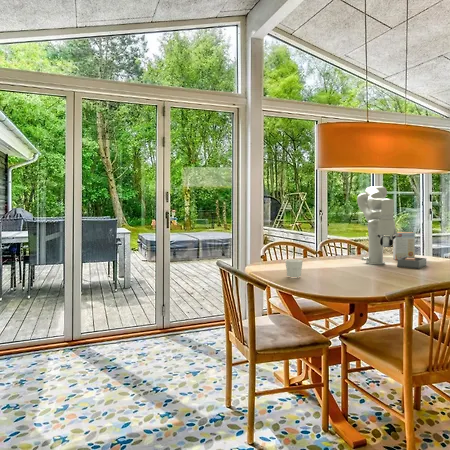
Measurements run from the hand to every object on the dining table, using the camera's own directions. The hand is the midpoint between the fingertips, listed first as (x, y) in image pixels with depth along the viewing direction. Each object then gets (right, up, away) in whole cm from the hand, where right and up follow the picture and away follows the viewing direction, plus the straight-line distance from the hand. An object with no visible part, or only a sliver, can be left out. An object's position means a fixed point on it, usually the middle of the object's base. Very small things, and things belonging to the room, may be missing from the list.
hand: (386, 245), depth 247 cm
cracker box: (+29, -13, +38) cm, 50 cm away
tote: (+21, -15, +9) cm, 28 cm away
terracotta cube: (+19, -14, +7) cm, 24 cm away
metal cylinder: (0, -1, 0) cm, 1 cm away
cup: (-66, -18, -25) cm, 73 cm away
